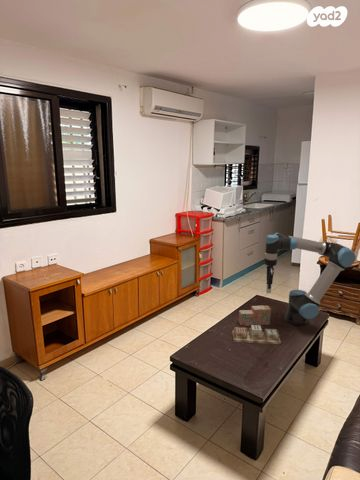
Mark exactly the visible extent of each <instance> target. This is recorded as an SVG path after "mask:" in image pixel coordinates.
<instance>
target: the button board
mask: <svg viewBox="0 0 360 480" xmlns="http://www.w3.org/2000/svg"><path fill="white" fill-rule="evenodd" d="M233 328H234V329H233V330H232V331H231V332H232V333H231V334H232V341H233V343H249V344H250V343H252V344H269V345H282V341H281V339H280V334H279V331H278V329H276V328H264V330H263V331H262V333H261V334H252V332H251V327H249V328H248V329H247V327H244V328H245V331H246V333H236V328H241V326H240V327H237V326H236V327H233ZM266 329H267V330H276V332H277V335H267V332H266Z"/></svg>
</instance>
